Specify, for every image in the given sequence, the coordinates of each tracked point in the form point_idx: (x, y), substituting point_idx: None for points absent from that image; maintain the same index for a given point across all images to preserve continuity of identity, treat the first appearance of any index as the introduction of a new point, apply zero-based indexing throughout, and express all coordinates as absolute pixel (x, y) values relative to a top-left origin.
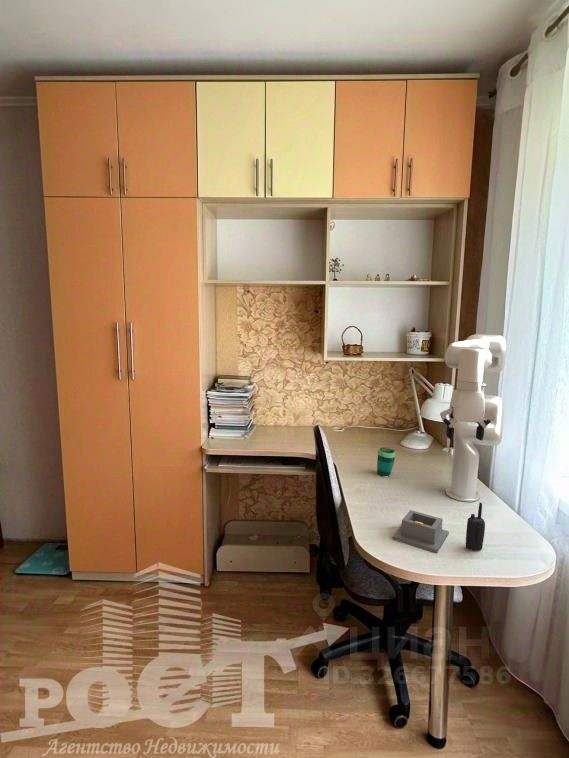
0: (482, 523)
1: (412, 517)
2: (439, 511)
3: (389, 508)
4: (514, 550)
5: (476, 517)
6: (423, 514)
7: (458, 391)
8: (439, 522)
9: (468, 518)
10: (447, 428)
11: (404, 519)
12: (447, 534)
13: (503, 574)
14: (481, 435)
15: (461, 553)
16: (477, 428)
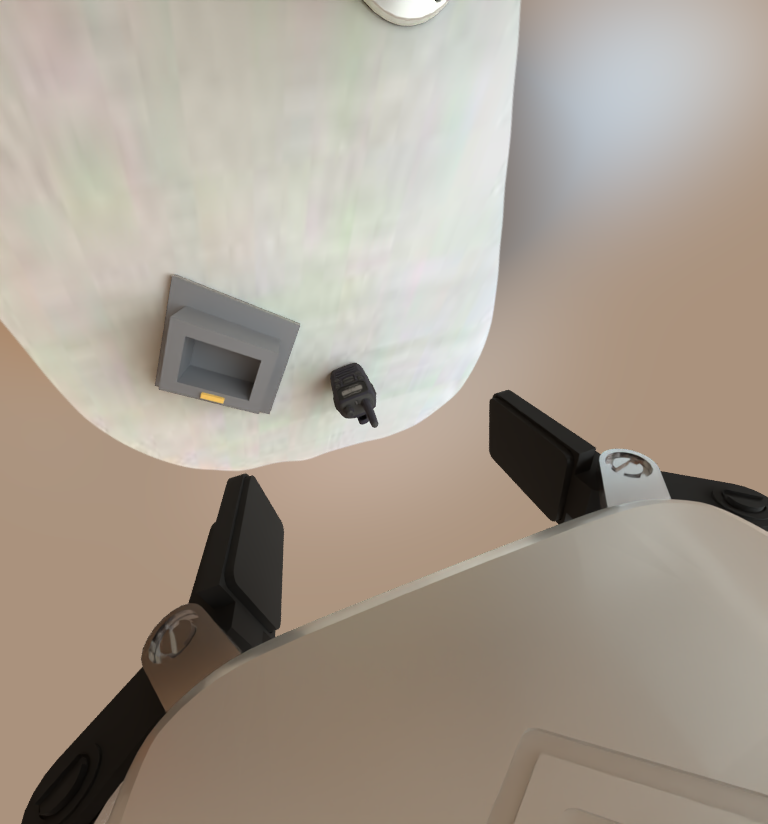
0: (366, 421)
1: (188, 338)
2: (281, 159)
3: (73, 157)
4: (424, 360)
5: (360, 401)
6: (219, 339)
7: None
8: (269, 376)
9: (339, 406)
10: (202, 599)
11: (166, 385)
12: (295, 337)
13: (376, 437)
14: (516, 480)
15: (318, 398)
16: (552, 460)
